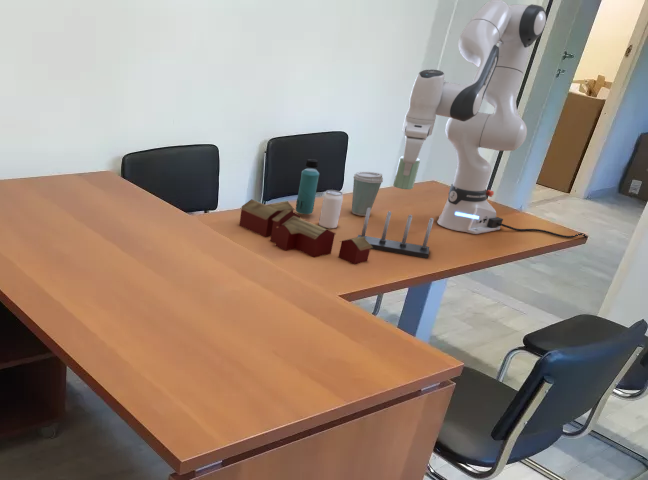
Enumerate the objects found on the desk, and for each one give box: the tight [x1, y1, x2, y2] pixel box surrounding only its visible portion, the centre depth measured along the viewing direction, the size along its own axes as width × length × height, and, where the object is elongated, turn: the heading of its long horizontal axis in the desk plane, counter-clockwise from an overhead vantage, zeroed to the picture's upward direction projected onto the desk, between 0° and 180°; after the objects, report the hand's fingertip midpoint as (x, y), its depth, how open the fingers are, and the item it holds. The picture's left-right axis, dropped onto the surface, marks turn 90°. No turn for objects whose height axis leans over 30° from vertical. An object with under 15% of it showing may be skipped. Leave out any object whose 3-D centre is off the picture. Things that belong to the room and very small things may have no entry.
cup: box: [392, 155, 421, 190], centre depth 224 cm, size 6×6×9 cm
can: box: [318, 189, 344, 230], centre depth 246 cm, size 6×6×12 cm
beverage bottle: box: [295, 158, 320, 215], centre depth 252 cm, size 6×7×20 cm
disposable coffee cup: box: [351, 171, 384, 217], centre depth 260 cm, size 11×11×15 cm
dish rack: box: [356, 208, 434, 259], centre depth 230 cm, size 23×8×12 cm, turn 69°
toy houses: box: [239, 199, 373, 265], centre depth 230 cm, size 45×20×10 cm, turn 35°
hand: (406, 172), depth 224 cm, fingers closed on cup, 6 cm apart
